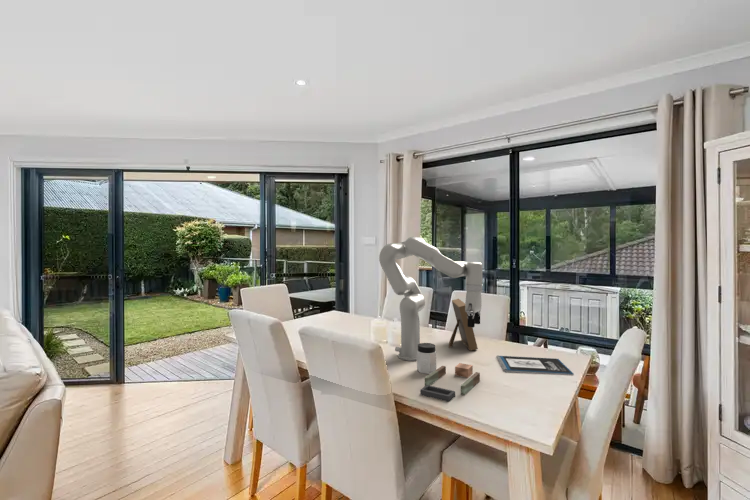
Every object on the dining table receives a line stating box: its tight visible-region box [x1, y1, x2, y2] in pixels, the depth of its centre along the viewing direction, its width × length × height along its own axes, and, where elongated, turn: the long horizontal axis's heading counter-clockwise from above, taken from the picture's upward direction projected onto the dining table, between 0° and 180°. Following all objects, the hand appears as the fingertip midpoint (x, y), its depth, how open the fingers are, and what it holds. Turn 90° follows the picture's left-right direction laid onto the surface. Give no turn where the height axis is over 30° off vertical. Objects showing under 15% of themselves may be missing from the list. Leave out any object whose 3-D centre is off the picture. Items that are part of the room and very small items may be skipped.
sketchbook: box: [495, 355, 575, 376], centre depth 185 cm, size 22×30×2 cm
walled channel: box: [424, 365, 481, 396], centre depth 163 cm, size 17×18×4 cm
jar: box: [416, 342, 437, 375], centre depth 178 cm, size 9×8×12 cm
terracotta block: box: [454, 362, 474, 379], centre depth 173 cm, size 6×6×4 cm
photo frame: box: [448, 298, 478, 352], centre depth 220 cm, size 15×22×25 cm
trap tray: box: [419, 385, 456, 403], centre depth 150 cm, size 12×6×2 cm, turn 56°
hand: (473, 325), depth 184 cm, fingers open, 7 cm apart
